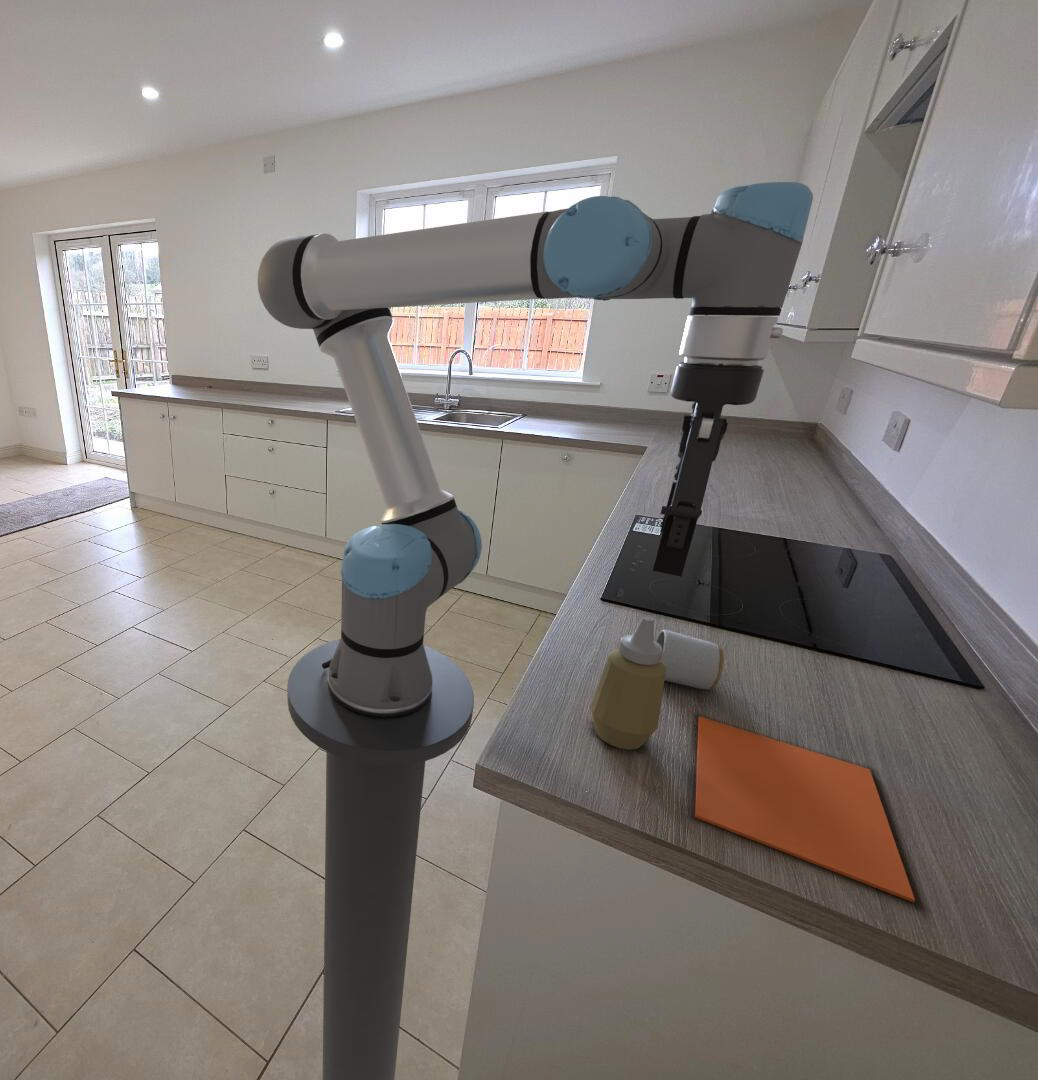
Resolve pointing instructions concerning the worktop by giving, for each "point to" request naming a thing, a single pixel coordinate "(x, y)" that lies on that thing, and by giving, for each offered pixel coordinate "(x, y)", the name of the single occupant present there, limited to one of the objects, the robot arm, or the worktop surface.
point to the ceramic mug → (691, 660)
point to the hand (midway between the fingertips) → (669, 551)
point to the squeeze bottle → (630, 690)
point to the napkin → (797, 804)
